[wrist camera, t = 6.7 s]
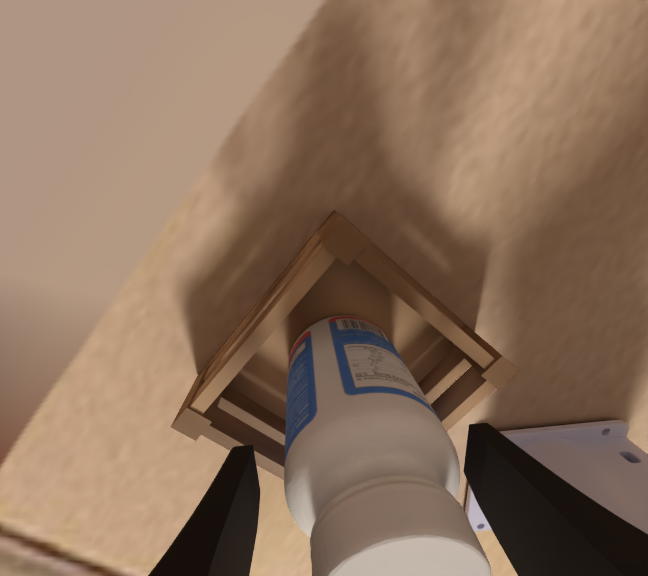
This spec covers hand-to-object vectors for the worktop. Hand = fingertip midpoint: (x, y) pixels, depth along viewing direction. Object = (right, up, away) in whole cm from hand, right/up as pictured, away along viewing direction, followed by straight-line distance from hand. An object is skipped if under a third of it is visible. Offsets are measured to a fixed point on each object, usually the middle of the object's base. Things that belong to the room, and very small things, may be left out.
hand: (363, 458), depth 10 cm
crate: (-1, +2, +6) cm, 7 cm away
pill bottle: (0, +2, +6) cm, 6 cm away
